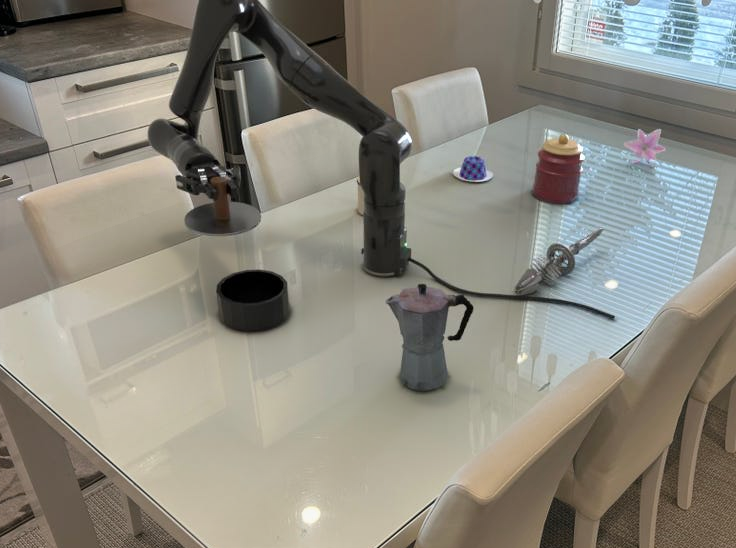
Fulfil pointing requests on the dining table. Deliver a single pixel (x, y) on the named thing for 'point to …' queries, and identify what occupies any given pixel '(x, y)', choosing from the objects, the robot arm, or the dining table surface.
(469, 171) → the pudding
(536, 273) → the spaceship
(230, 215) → the lid
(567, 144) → the kitchen canister
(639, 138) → the lily
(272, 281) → the pan
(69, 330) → the dining table surface
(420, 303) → the moka pot
